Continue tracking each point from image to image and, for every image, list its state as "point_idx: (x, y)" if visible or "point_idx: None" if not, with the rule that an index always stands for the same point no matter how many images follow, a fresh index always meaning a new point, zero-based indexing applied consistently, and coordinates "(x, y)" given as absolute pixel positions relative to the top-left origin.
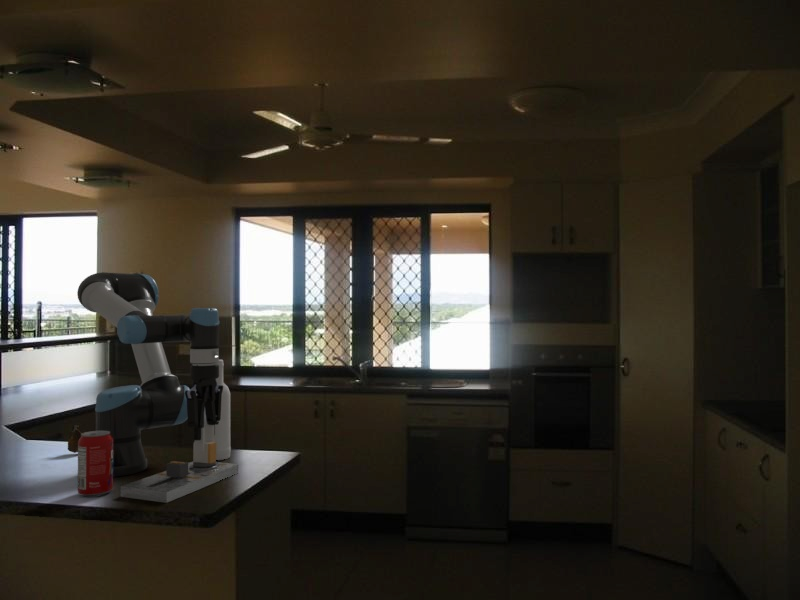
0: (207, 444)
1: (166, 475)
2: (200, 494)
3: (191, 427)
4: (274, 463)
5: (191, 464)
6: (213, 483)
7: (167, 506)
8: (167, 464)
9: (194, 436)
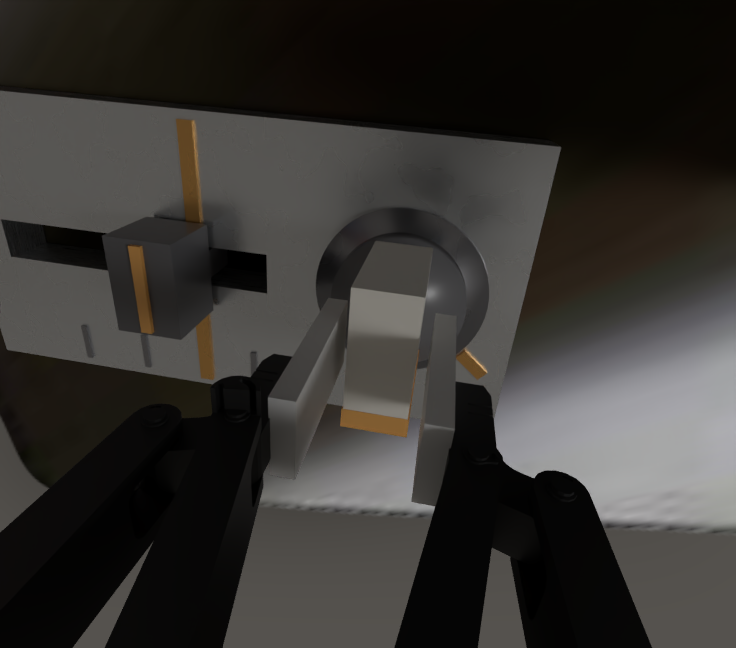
0: (344, 402)
1: (143, 218)
2: (168, 390)
3: (238, 378)
4: (709, 488)
5: (432, 184)
6: None
7: (20, 352)
8: (105, 243)
9: (257, 373)
